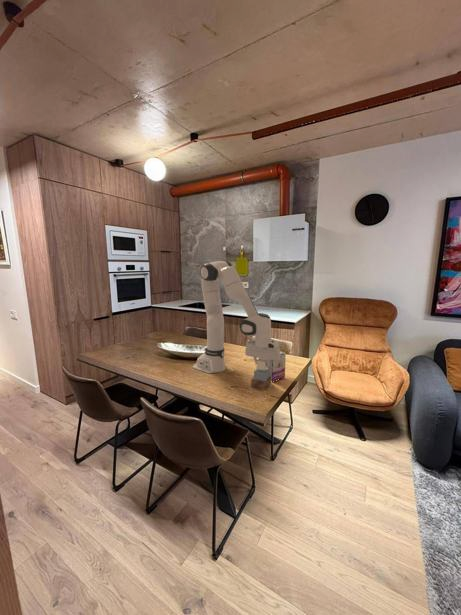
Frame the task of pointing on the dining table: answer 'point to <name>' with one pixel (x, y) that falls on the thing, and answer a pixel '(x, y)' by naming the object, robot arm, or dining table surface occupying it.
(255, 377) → the grey square block
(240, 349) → the dining table surface
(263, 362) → the cream cube
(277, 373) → the candy bar box
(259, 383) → the tan wooden block
